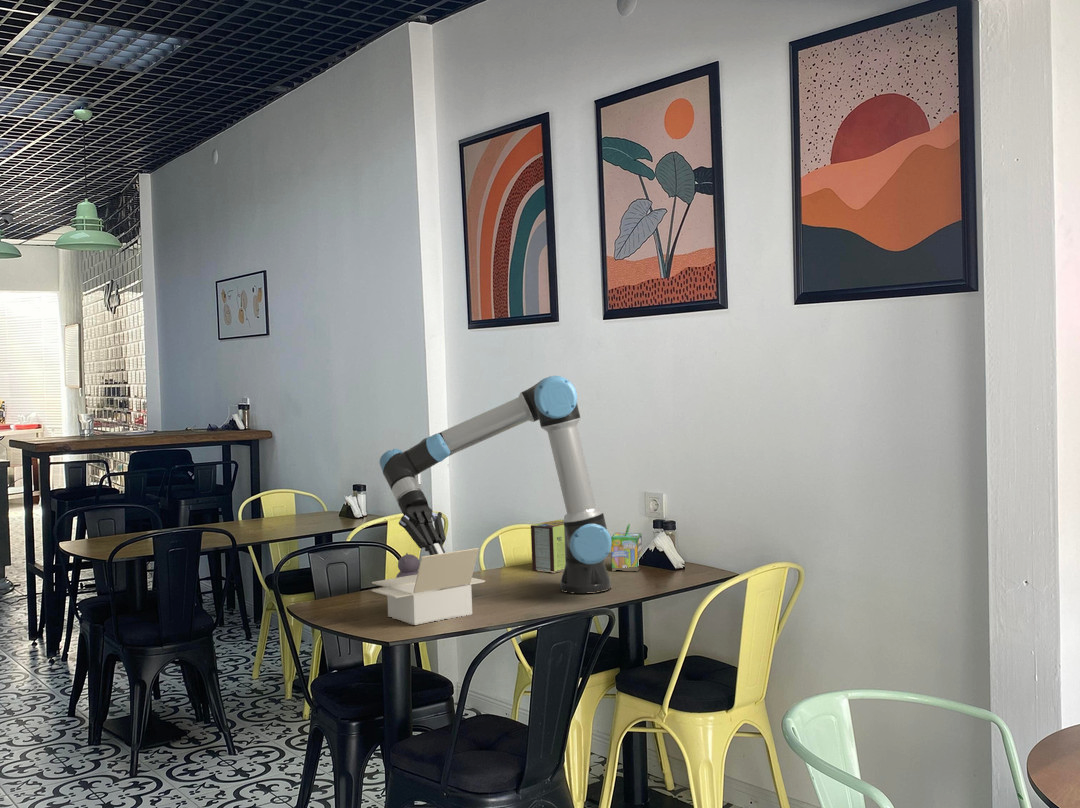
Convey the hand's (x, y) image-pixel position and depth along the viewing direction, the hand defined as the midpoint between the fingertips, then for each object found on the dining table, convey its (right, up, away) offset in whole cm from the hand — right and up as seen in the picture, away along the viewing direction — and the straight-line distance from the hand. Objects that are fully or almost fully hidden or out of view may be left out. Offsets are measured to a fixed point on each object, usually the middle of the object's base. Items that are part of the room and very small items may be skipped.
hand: (443, 566), depth 254 cm
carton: (-7, -15, +11) cm, 20 cm away
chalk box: (+54, -12, +65) cm, 85 cm away
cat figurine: (-14, -15, +37) cm, 42 cm away
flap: (+1, -1, 0) cm, 1 cm away
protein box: (+32, -13, +70) cm, 78 cm away
